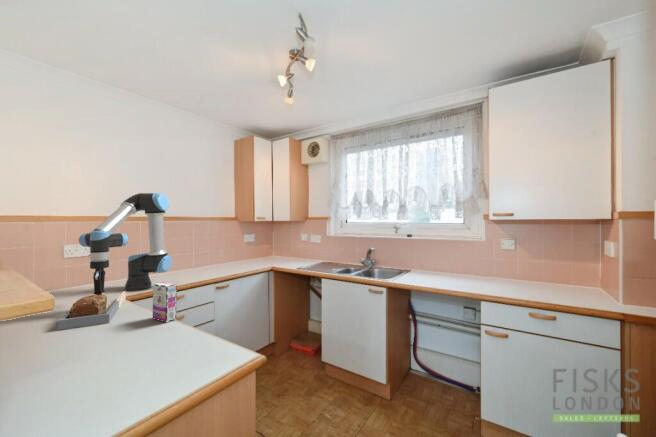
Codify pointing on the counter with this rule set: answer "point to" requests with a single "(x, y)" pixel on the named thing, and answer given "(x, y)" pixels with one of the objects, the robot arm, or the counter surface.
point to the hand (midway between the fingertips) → (99, 306)
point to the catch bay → (93, 319)
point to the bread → (89, 306)
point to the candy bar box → (164, 301)
